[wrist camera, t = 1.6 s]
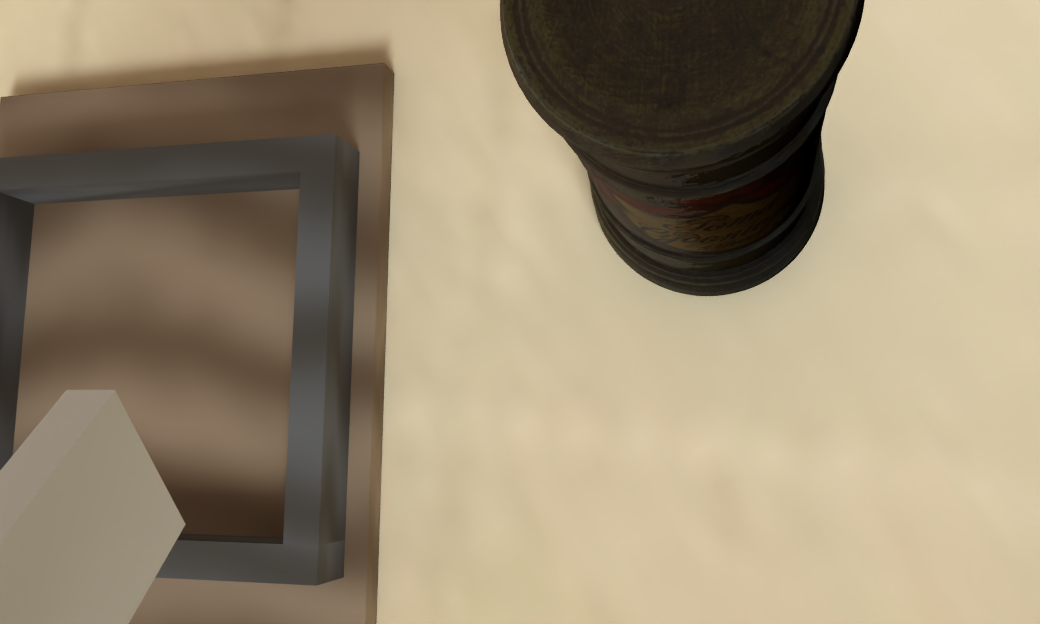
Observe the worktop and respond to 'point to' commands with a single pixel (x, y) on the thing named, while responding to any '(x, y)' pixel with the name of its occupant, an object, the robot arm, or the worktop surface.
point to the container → (690, 123)
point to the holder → (215, 318)
